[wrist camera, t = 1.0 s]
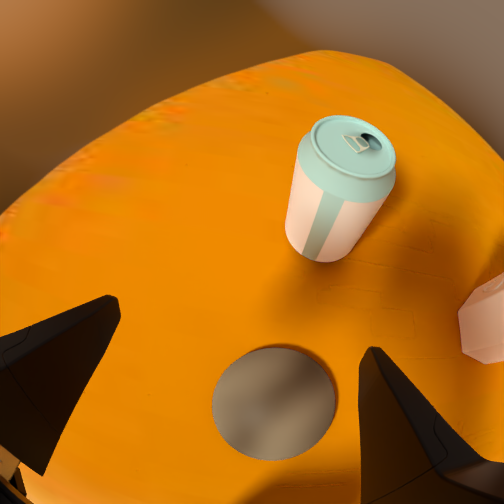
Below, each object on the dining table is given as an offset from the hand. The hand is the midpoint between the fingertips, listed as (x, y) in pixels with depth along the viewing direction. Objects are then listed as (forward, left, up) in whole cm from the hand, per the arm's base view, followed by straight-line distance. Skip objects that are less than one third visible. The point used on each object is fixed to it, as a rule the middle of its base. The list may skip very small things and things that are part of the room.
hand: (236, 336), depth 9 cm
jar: (-17, -20, -14) cm, 30 cm away
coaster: (-5, +1, -14) cm, 15 cm away
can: (+4, -13, -14) cm, 20 cm away
